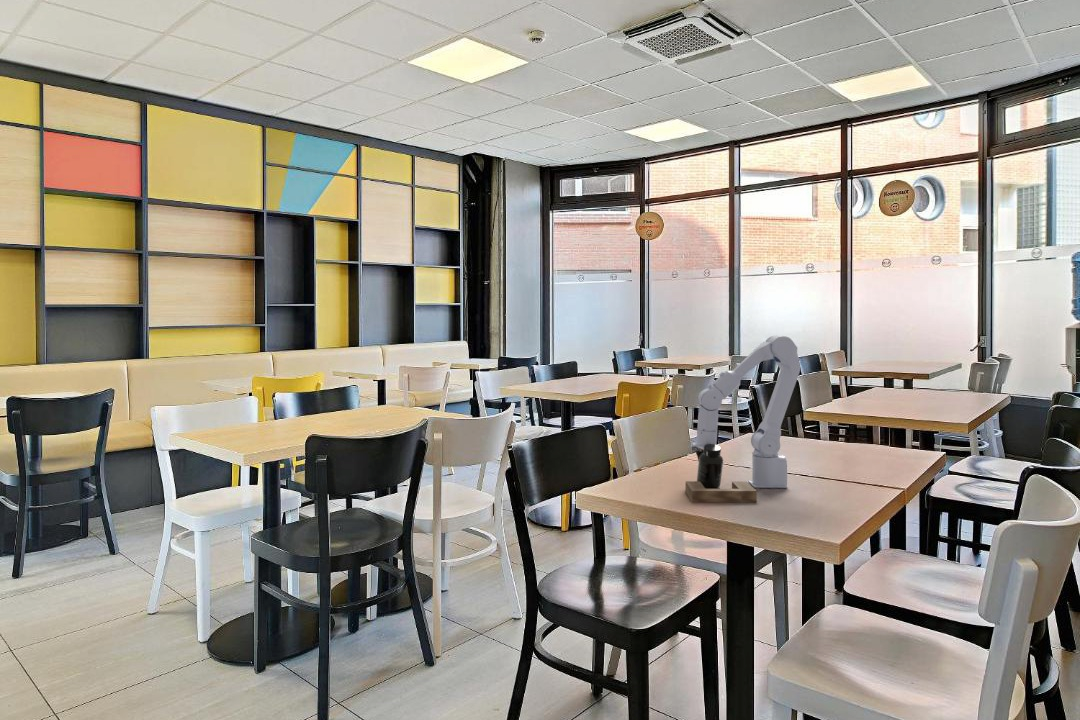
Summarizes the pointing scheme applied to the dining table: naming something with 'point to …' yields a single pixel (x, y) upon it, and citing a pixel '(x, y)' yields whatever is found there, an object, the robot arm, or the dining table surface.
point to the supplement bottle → (710, 467)
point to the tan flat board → (721, 493)
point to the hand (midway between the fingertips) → (704, 475)
